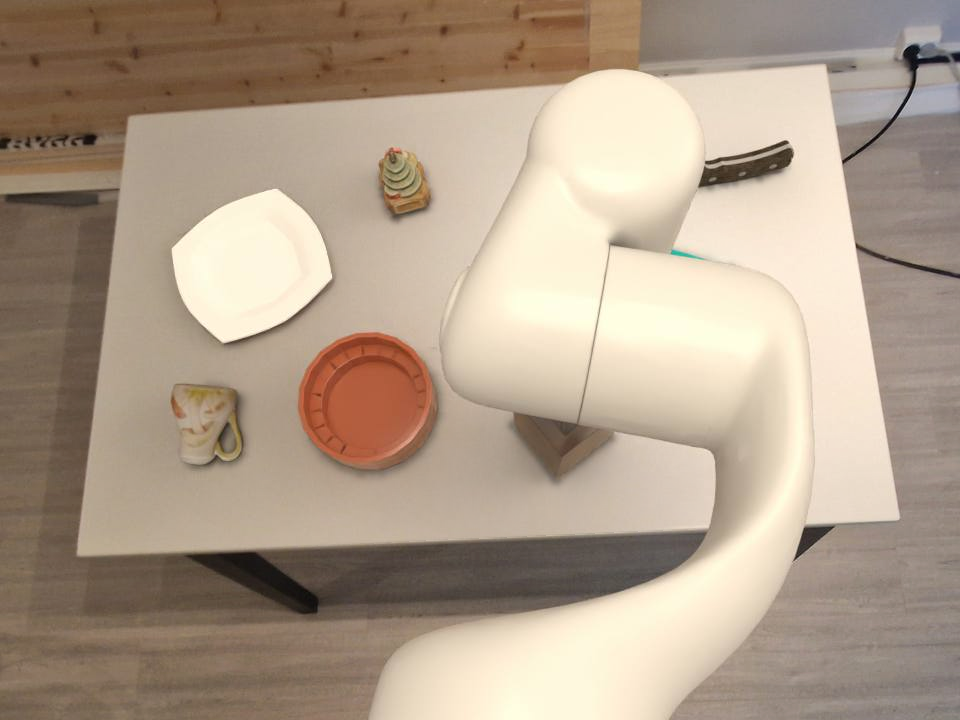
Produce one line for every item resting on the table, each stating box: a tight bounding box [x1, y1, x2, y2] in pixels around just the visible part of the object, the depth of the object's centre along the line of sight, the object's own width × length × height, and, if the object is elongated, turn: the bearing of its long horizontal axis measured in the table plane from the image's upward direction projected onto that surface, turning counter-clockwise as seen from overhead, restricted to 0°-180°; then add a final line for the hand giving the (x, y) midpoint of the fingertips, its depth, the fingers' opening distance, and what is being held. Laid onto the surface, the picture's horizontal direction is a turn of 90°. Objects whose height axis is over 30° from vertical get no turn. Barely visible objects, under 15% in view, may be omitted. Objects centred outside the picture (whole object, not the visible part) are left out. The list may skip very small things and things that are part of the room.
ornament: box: [378, 146, 431, 216], centre depth 89 cm, size 8×6×10 cm
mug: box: [170, 383, 243, 466], centre depth 83 cm, size 8×10×10 cm
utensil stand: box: [512, 412, 615, 479], centre depth 72 cm, size 8×8×23 cm
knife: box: [698, 139, 795, 187], centre depth 89 cm, size 6×2×30 cm
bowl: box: [297, 331, 438, 471], centre depth 82 cm, size 15×15×6 cm
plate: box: [170, 187, 333, 344], centre depth 91 cm, size 19×19×2 cm
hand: (575, 360), depth 57 cm, fingers open, 4 cm apart
